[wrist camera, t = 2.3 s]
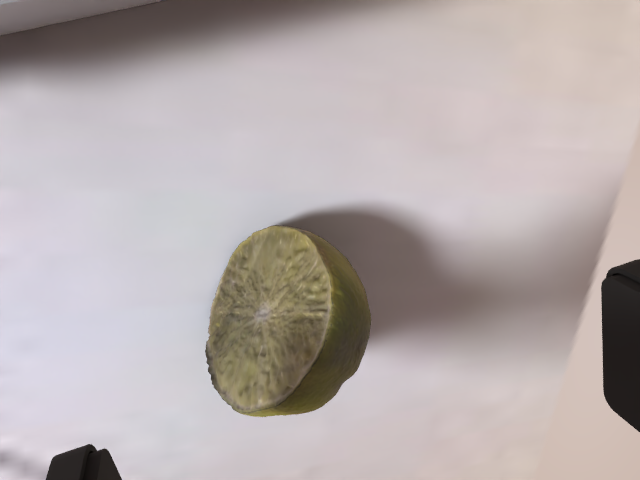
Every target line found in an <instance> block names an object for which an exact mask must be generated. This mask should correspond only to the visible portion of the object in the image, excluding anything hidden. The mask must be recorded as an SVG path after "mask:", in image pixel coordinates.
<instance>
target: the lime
mask: <svg viewBox="0 0 640 480" xmlns="http://www.w3.org/2000/svg"><path fill="white" fill-rule="evenodd" d="M370 325H371V314H370V310H369V305H368V301H367V297H366V292H365V289H364V287H363V285H362V283H361V281H360V279H359V277H358V275H357V273H356V271H355V270H354V268H353V267H352V266H351V264H350V263H349V261H348V260H347V258H346V257H345V256H343V255H342V254H341V253H340V252H339V251H338V250H337V249H336V248H335V247H333V246H332V245H331V244H329V243H328V242H327V241H325V240H324V239H322V238H320V237H319V236H317V235H315V234H313V233H312V232H309V231H304V230H302V229H298V228H294V227H290V226H281V225H275V226H270V227H268V228H266V229H263V230H260V231H257V232H254V233H253V234H252V236H250V237H248V238H247V240H245V241H243V242H242V243H241V244H240V245H239V246H238V248H237V249H236V250H235V251H234V252H233V254H232V256H231V258H230V259H229V262H228V265H227V267H226V269H225V271H224V273H223V275H222V277H221V280H220V282H219V285H218V288H217V292H216V296H215V299H214V300H213V303H212V307H211V315H210V325H209V328H208V329H209V331H208V333H209V334H210V336H209V340H208V341H207V343H206V350H205V352H206V357H207V364H209V368H208V372H209V373H210V374H211V380H212V384H213V385H214V388H215V389H216V390H217V391H218V393H219V394H220V396H221V397H222V399H223V400H224V401H226V402H227V404H229V405H231V406H232V408H233V410H235V411H237V412H239V413H241V414H245V415H249V416H258V417H266V416H275V415H292V414H302V413H306V412H310V411H314V410H316V409H318V408H320V407H322V406H323V405H325V404H326V403H327V402H328V401H330V400H331V399H332V398H333V397H334V396H335V395H336V394H337V392H338V390H339V389H340V387H341V385H342V384H343V383H344V382H345V381H346V380H347V379H349V378H350V377H351V376H352V375H354V373H355V372H356V371H357V369H358V367H359V365H360V362H361V360H362V357H363V355H364V353H365V349H366V346H367V341H368V339H369V332H370Z"/></svg>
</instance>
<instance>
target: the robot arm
mask: <svg viewBox="0 0 640 480" xmlns="http://www.w3.org/2000/svg"><path fill="white" fill-rule="evenodd" d="M601 291H602V336H603V337H602V338H603V339H602V340H603V387H604V396H605V399H606V401H607V403H608V404H609V406H610V407H611V408H612V409H613V411H615V412H616V413H617V414H618V415H619V416H621V417H622V418H623V419H624V420H625V421H627V422H628V423H629V424H630V425H631V426H633V427H634V428H635V429H637V430H638V431H639V432H640V259H639V260H634V261H632V262H629V263H626V264H623V265H620V266H617V267H614V268H612V269H610V270H609V271H608V273H607V276H606V279H605V280H604V281H603V282H602V287H601ZM46 480H122V479H121V477H120V474H119V472H118V470H117V468H116V466H115V464H114V461H113V459H112V457H111V455H110V453H109V451H108V450H107V449H102V450H99V451H97V450H96V448H95V447H94V446H93V445H91V444H88V445H85V446H82V447H79V448H76V449H73V450H70V451H67V452H64V453H62V454H59V455H56V456H54V457H53V459H52V461H51V464H50V467H49V471H48V474H47V478H46Z"/></svg>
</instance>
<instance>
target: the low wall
mask: <svg viewBox="0 0 640 480" xmlns="http://www.w3.org/2000/svg"><path fill="white" fill-rule="evenodd" d="M160 1H164V0H0V36H1V35H6V34H10V33H15V32H20V31H24V30H29V29H34V28H38V27H43V26H48V25H52V24H57V23H62V22H66V21H71V20H76V19H80V18H85V17H90V16H94V15H99V14H104V13H108V12H113V11H118V10H122V9H127V8H132V7H136V6H141V5H146V4H150V3H155V2H160Z"/></svg>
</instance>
